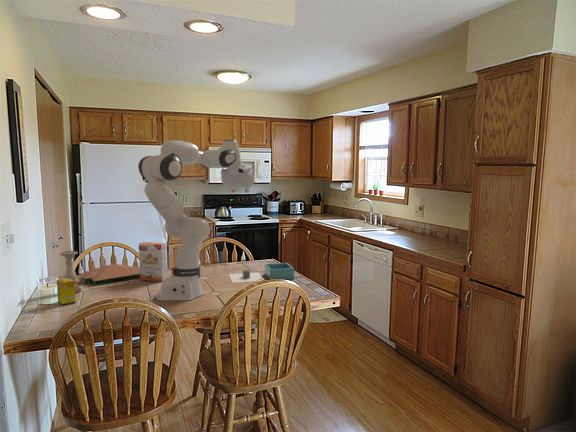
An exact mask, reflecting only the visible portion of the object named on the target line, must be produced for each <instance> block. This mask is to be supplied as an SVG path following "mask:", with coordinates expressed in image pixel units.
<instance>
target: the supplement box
mask: <svg viewBox="0 0 576 432" xmlns="http://www.w3.org/2000/svg"><path fill="white" fill-rule="evenodd" d="M75 286H76V284H75V285H74V280H72V279H71V278H66V279H65V278H62V279H61V278H59V279H57V280H56V288H57V289H56V290H57V303H58V304H60V306H61V307H62V306H68V305H72V304H76V293H75Z"/></svg>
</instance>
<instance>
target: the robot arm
mask: <svg viewBox="0 0 576 432" xmlns="http://www.w3.org/2000/svg"><path fill="white" fill-rule="evenodd" d="M159 153H160V154H159V155H147V156H144V157H143V158H141V159H140V160H139V162H138V165H137V167H138V172H139V174H140V176H141V178H142V181H143V182H145V183H146V184H145V186H144V193H145V195H146V197H147V199H148V200H149V202H150V204H151V206H153V207H154V209H155V210H156V211H157V212H158V214H160V216H161V217H162V219H163V220H164V231H165V232H166V234H167V235H169V236H171V237H173V238H176V239H182V241H181V246H180V247H179V248H177V250H176V252H175V263H176V264H175V266H174V265H173V266H171V268H170V270H171V273H172V274H171V275H170V276H169V277H167V279H166V280H164V281H162V284H161V286H160V290H159V291H158V292H156V294H155V298H156V300H158V301H163V302H164V301H167V302H168V301H191V300H193V299H195V298H199V297H201V296H202V295H203V294H204V291H203V289H202V284H201V275H202V274H201V265H200V250H201V246H202V244H203V242H204V240H205V239H207V237H208V236H209V235H210V230H211V228H210V225H209V223H208V221H207V220H205V219H202V218H200V217H193V216H188V215H186V214H184V208H185V207H184V206H185V205H184V204H183V202H182V201H181V199H180V198H179V197H178V196H177V194H176V193H175V192H174V190H173V189H171V187H170V185H169V181H175V180H177V179H178V178H179V177H180V176H181V174H182V171H183V166H191V165H195V164H199V165H200V166H202V167H203V168H205V169H221V170H220V176H221V178H220V179H221V183H222V185H223V186H228V188H229V190H230V192H231V193H236V189H235V188H234V187H233V186H245V187H246V188H245V189H244V192H245V194H247V193H249V192H250V186H253V185H254V184H255V183H256V181H255V176H254V173H253V171H252V166H251V165H249V164H246V163H243V161H242V158H241V150H240V147H239V144H238V141H237V140H235V139H225V140H222V142H221V146H220V147H219V148H218V149H208V148H207V149H204V150H199V147H198V146H197V145H196V144H195V143H192V142H189V141H183V140H175V139H174V140H167V141H166V140H165V141H164V142H163V143H162V144H161V146H160V152H159Z"/></svg>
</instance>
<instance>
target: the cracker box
mask: <svg viewBox="0 0 576 432" xmlns="http://www.w3.org/2000/svg"><path fill="white" fill-rule="evenodd" d="M167 252H168V251H167V243H165V242H151V241H150V242H149V241H143V242H140V243H138V256H139V257H138V258H139V259H138V260H139V261H138V262H139V267H140V274H139V280H141V281H150V282H151V281H152V282H162V283H163V282H164V281H165V280H166V279H168V257H167Z"/></svg>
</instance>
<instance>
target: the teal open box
mask: <svg viewBox="0 0 576 432" xmlns="http://www.w3.org/2000/svg"><path fill="white" fill-rule="evenodd" d="M264 274H265V276H266V277H267V279H268V280H269V279H283V280H292V279H295V268H294V267H293V266H292V265H291V264H290V263H289V262H278V263H277V262H275V263H266V264H264Z"/></svg>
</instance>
